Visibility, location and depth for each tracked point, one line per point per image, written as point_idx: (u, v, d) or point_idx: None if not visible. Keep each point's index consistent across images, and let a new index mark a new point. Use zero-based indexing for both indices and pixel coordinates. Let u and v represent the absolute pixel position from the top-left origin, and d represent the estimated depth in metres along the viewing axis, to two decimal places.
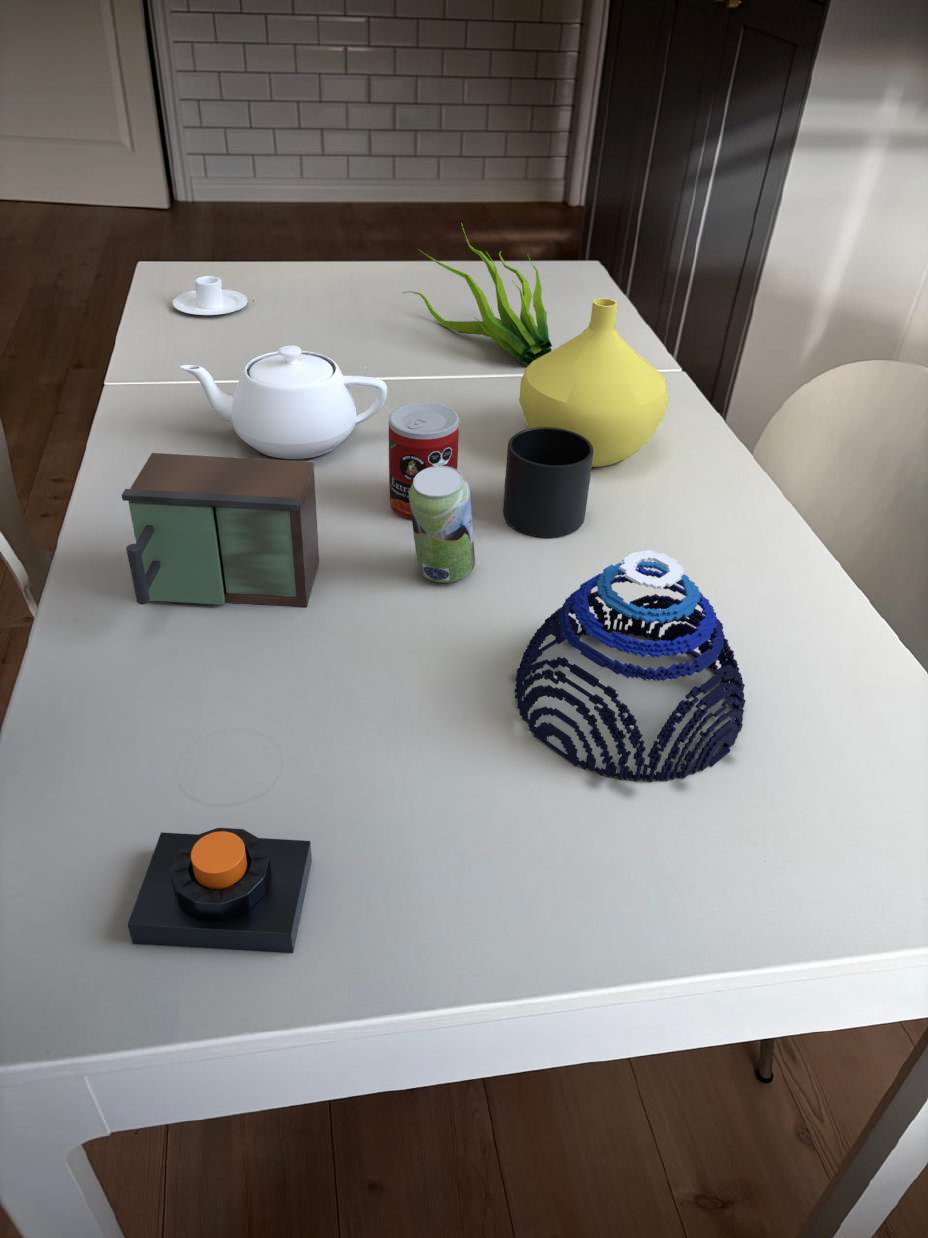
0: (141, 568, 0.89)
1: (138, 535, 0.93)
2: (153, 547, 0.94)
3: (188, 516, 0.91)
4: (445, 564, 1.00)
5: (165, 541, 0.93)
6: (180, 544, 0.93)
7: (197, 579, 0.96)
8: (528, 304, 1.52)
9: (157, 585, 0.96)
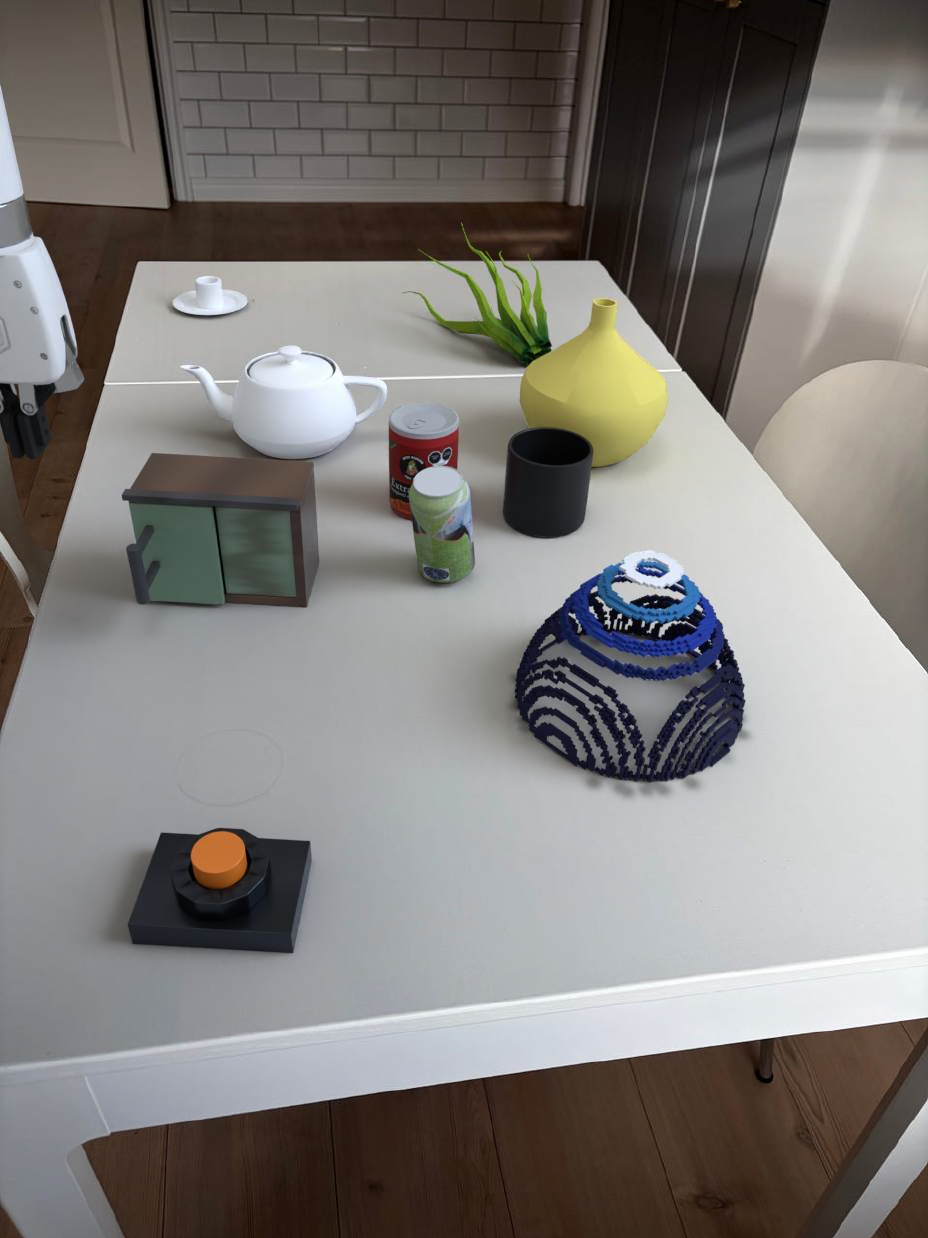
0: (141, 568, 0.89)
1: (138, 535, 0.93)
2: (153, 547, 0.94)
3: (188, 516, 0.91)
4: (445, 564, 1.00)
5: (165, 541, 0.93)
6: (180, 544, 0.93)
7: (197, 579, 0.96)
8: (528, 304, 1.52)
9: (157, 585, 0.96)
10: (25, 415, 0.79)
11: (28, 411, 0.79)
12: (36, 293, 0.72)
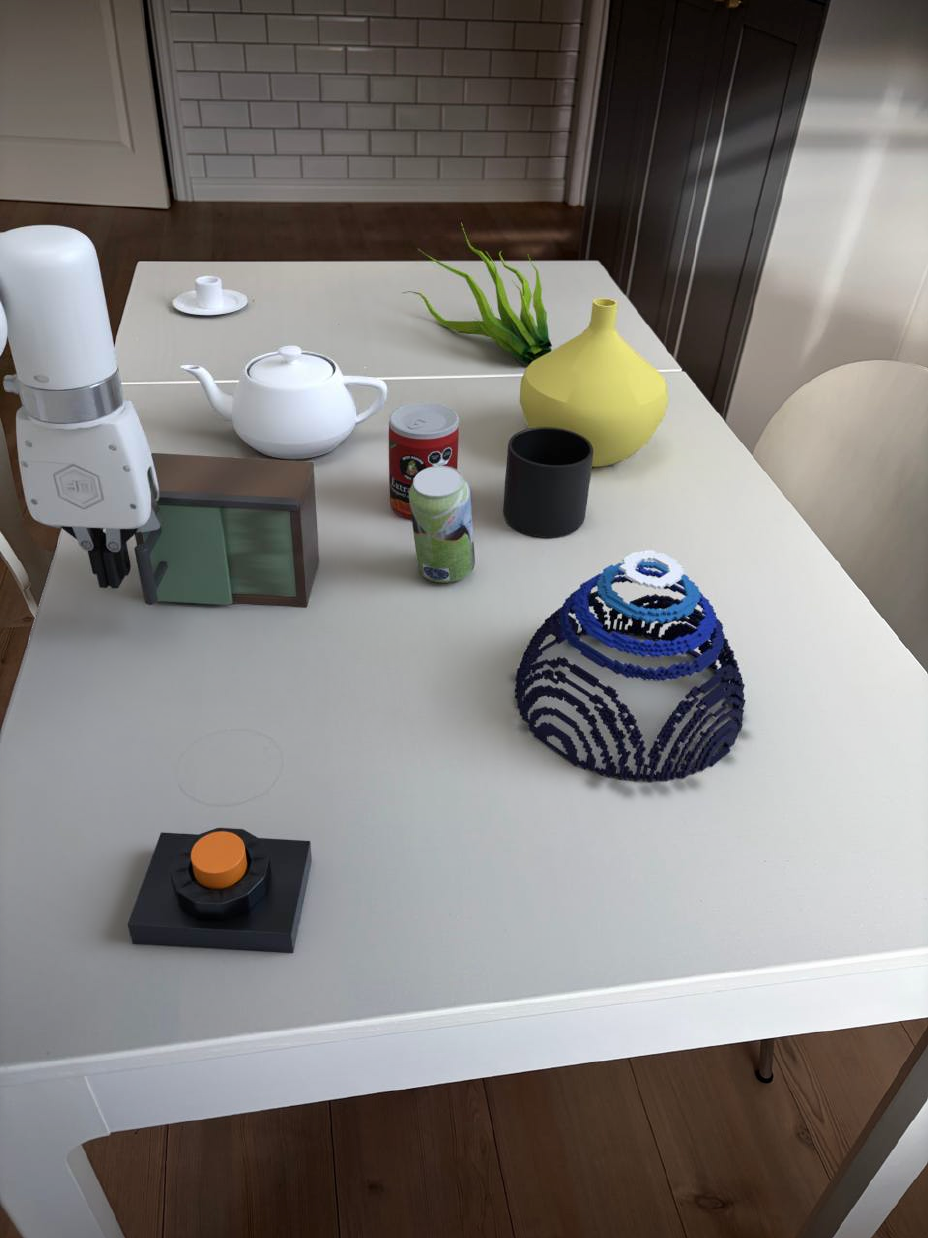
0: (149, 568, 0.89)
1: (146, 535, 0.93)
2: (161, 547, 0.94)
3: (196, 516, 0.91)
4: (445, 564, 1.00)
5: (173, 541, 0.93)
6: (188, 544, 0.93)
7: (204, 579, 0.96)
8: (528, 304, 1.52)
9: (165, 586, 0.96)
10: (110, 552, 0.87)
11: (113, 548, 0.87)
12: (128, 454, 0.80)
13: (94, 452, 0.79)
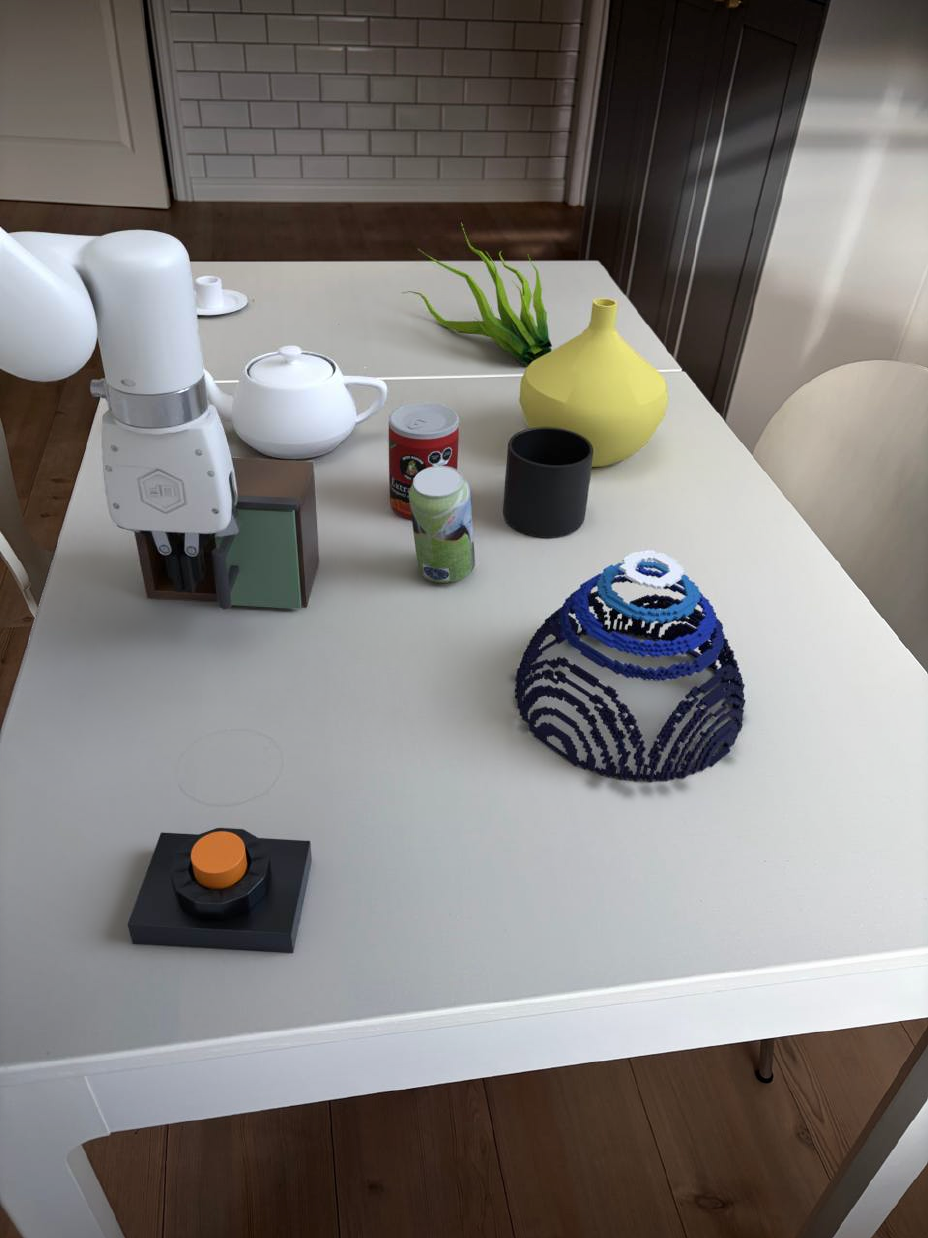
0: (225, 572, 0.89)
1: (218, 539, 0.93)
2: (233, 551, 0.93)
3: (270, 521, 0.91)
4: (445, 564, 1.00)
5: (245, 545, 0.93)
6: (260, 548, 0.93)
7: (275, 583, 0.96)
8: (528, 304, 1.52)
9: (235, 589, 0.96)
10: (187, 556, 0.87)
11: (190, 552, 0.87)
12: (213, 459, 0.80)
13: (180, 457, 0.79)
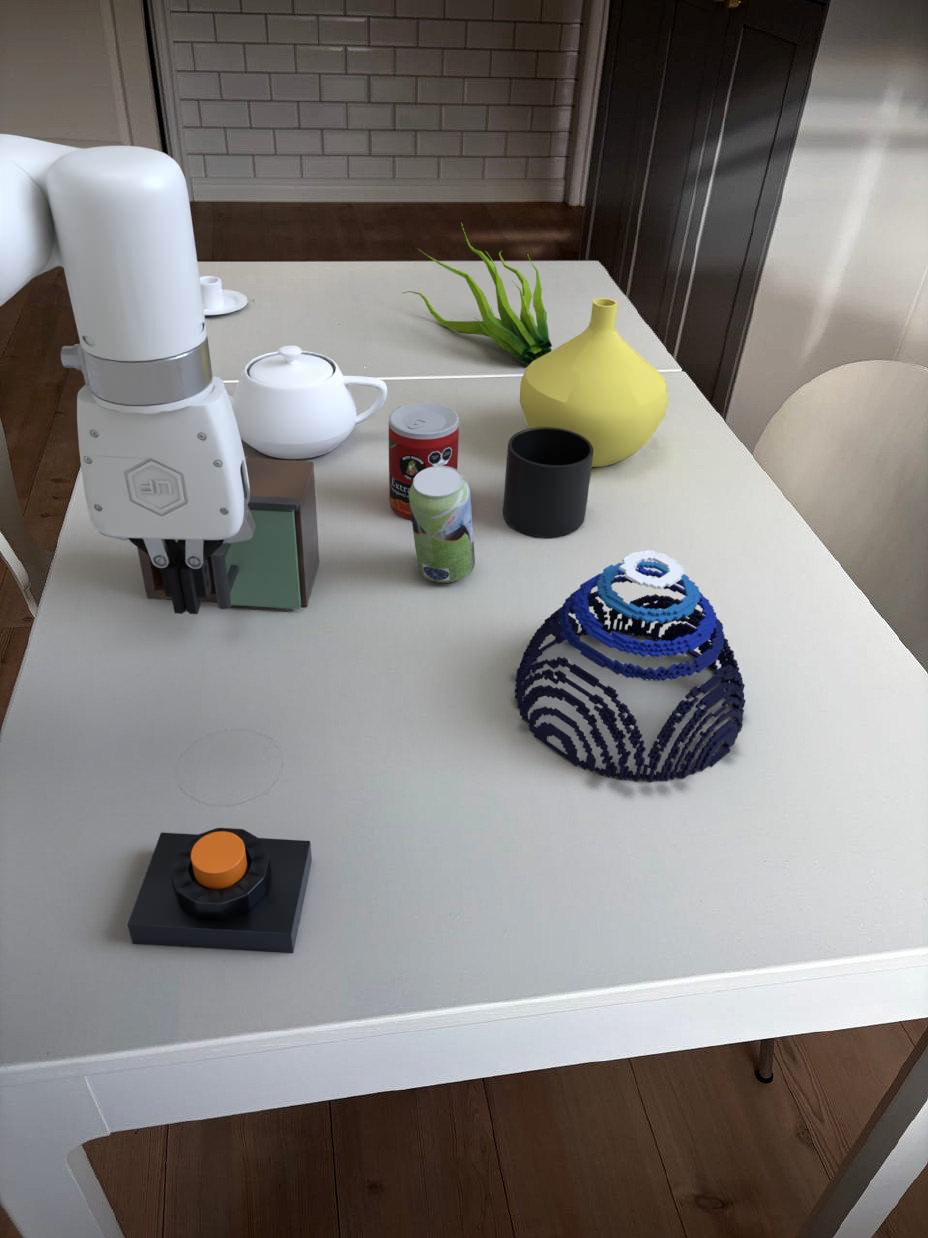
0: (224, 572, 0.89)
1: None
2: (232, 551, 0.93)
3: (269, 521, 0.91)
4: (445, 564, 1.00)
5: (245, 545, 0.93)
6: (260, 548, 0.93)
7: (274, 583, 0.96)
8: (528, 304, 1.52)
9: (234, 589, 0.96)
10: (189, 569, 0.70)
11: (193, 564, 0.70)
12: (221, 445, 0.63)
13: (179, 443, 0.62)
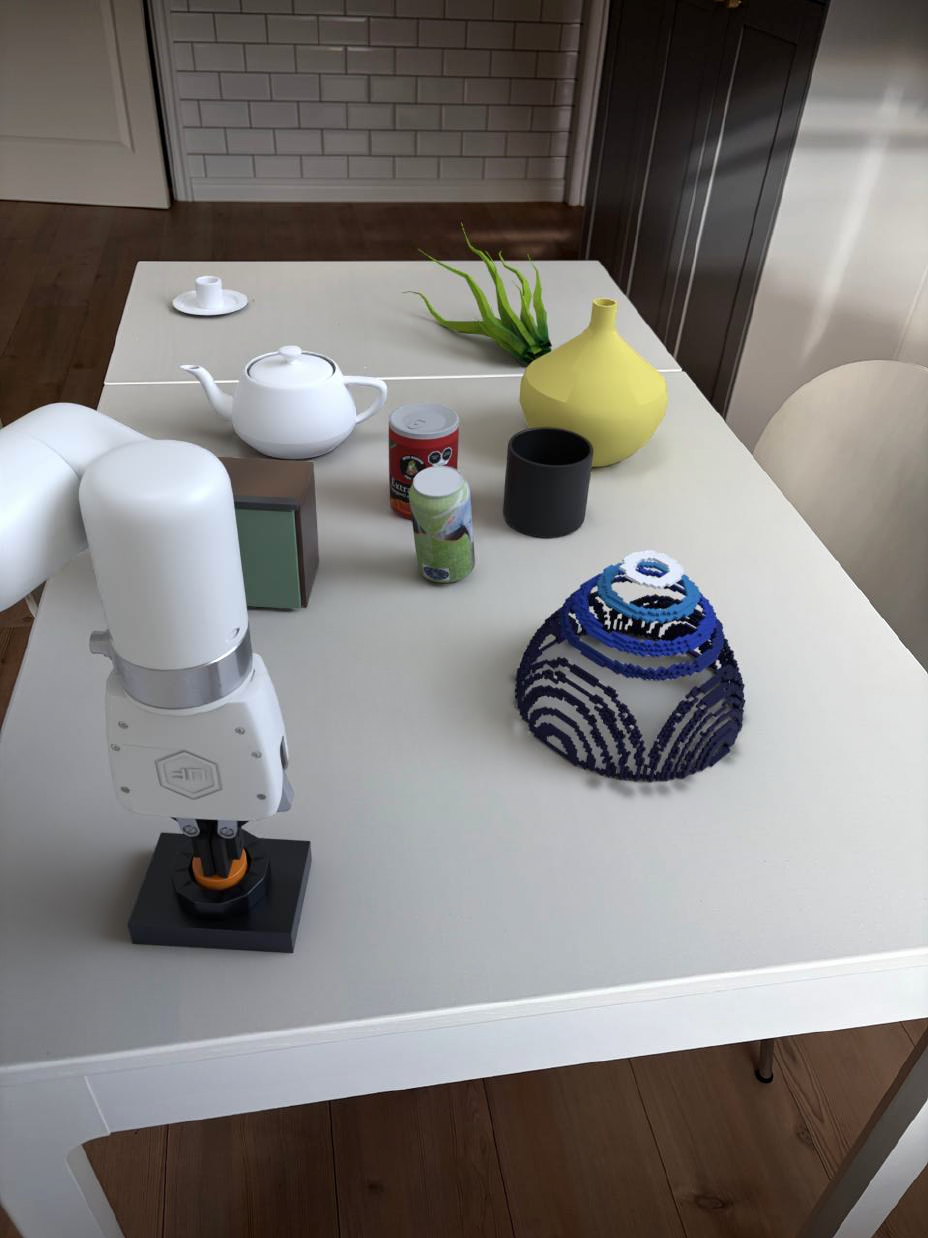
0: None
1: None
2: None
3: (269, 521, 0.91)
4: (445, 564, 1.00)
5: (245, 545, 0.93)
6: (260, 548, 0.93)
7: (274, 583, 0.96)
8: (528, 304, 1.52)
9: None
10: (221, 838, 0.64)
11: (225, 833, 0.64)
12: (260, 737, 0.57)
13: (215, 737, 0.57)
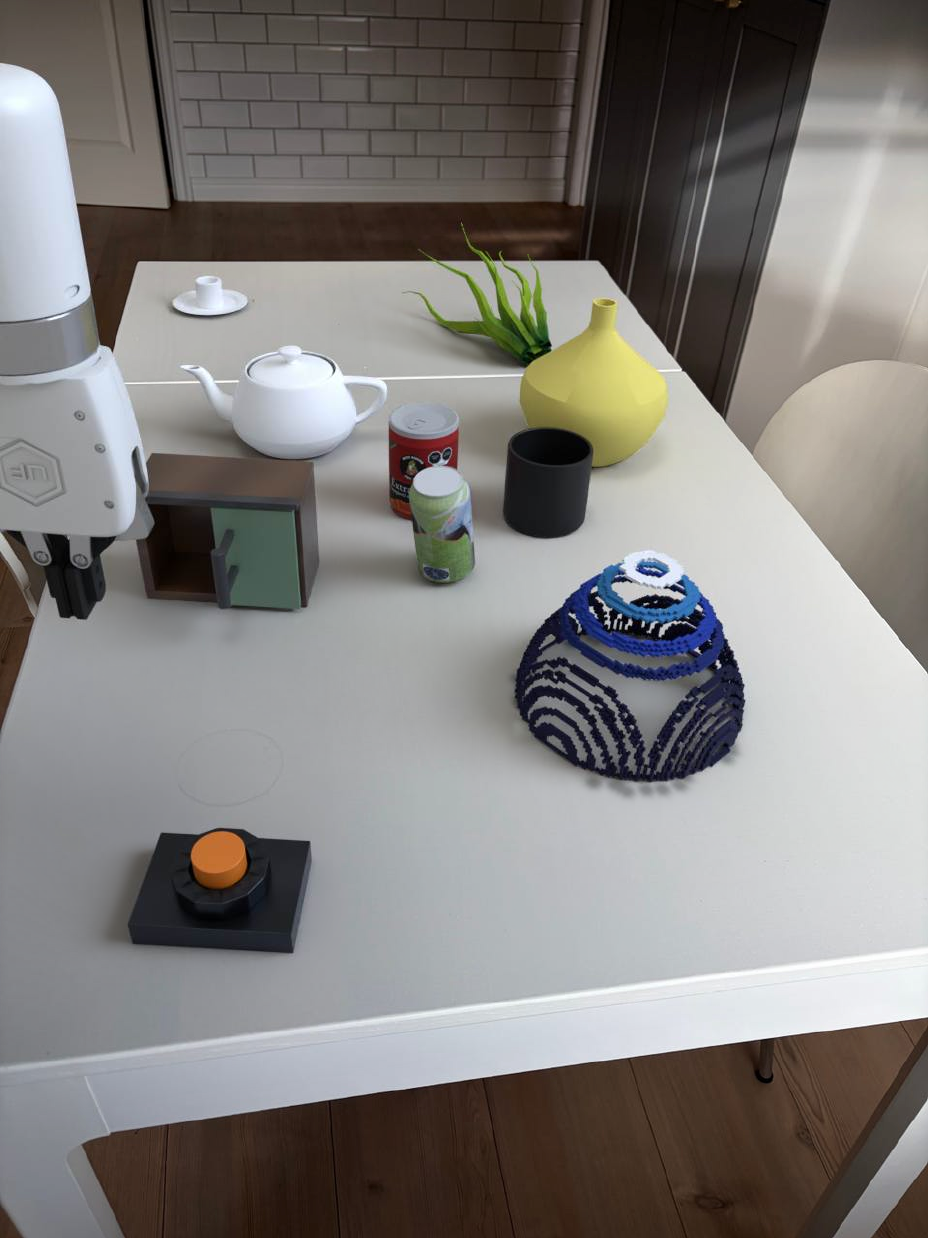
0: (224, 572, 0.89)
1: (218, 539, 0.93)
2: (232, 551, 0.93)
3: (269, 521, 0.91)
4: (445, 564, 1.00)
5: (245, 545, 0.93)
6: (260, 548, 0.93)
7: (274, 583, 0.96)
8: (528, 304, 1.52)
9: (234, 589, 0.96)
10: (75, 568, 0.60)
11: (80, 563, 0.60)
12: (103, 427, 0.53)
13: (53, 422, 0.53)
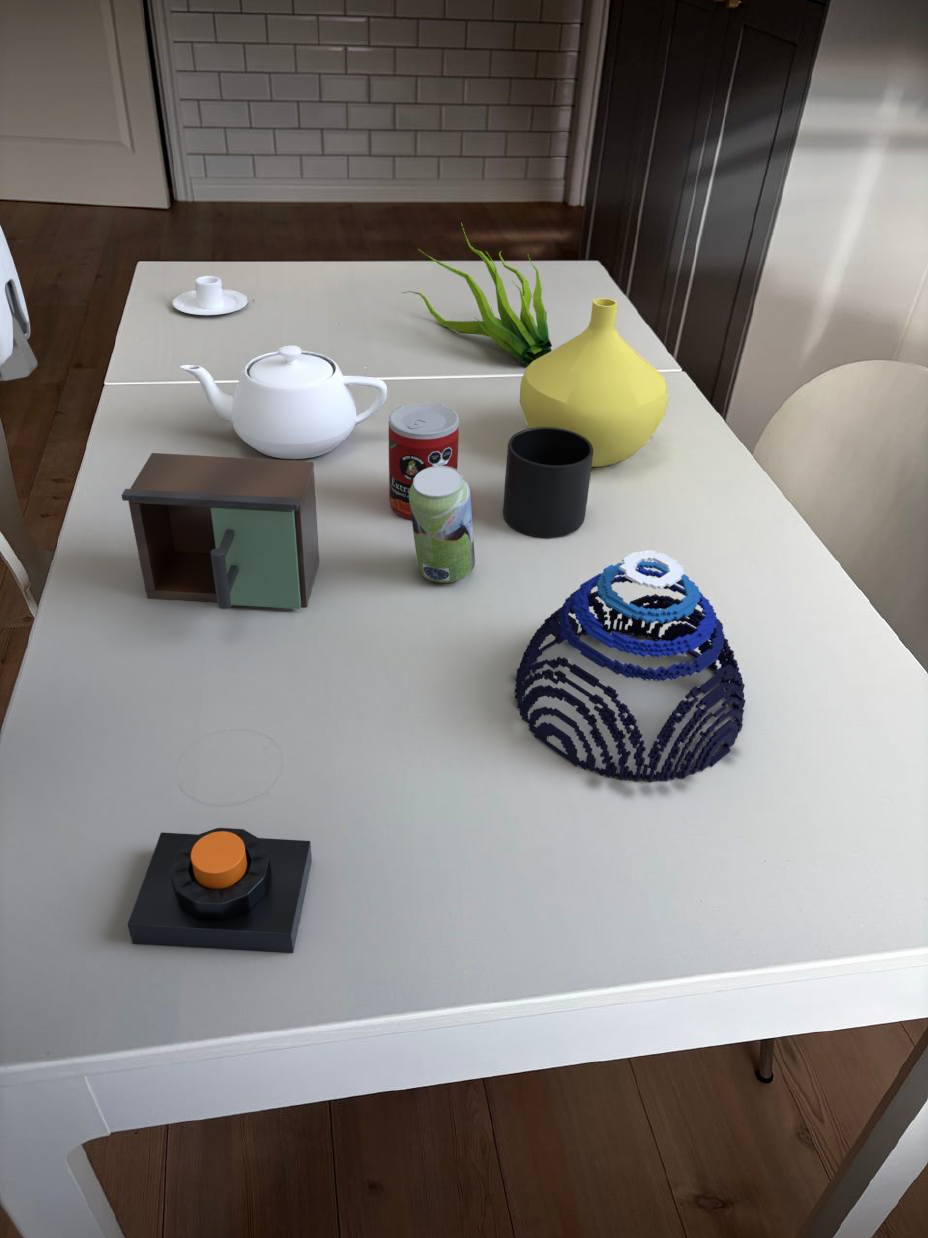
0: (224, 572, 0.89)
1: (218, 539, 0.93)
2: (232, 551, 0.93)
3: (269, 521, 0.91)
4: (445, 564, 1.00)
5: (245, 545, 0.93)
6: (260, 548, 0.93)
7: (274, 583, 0.96)
8: (528, 304, 1.52)
9: (234, 589, 0.96)
10: None
11: None
12: None
13: None
